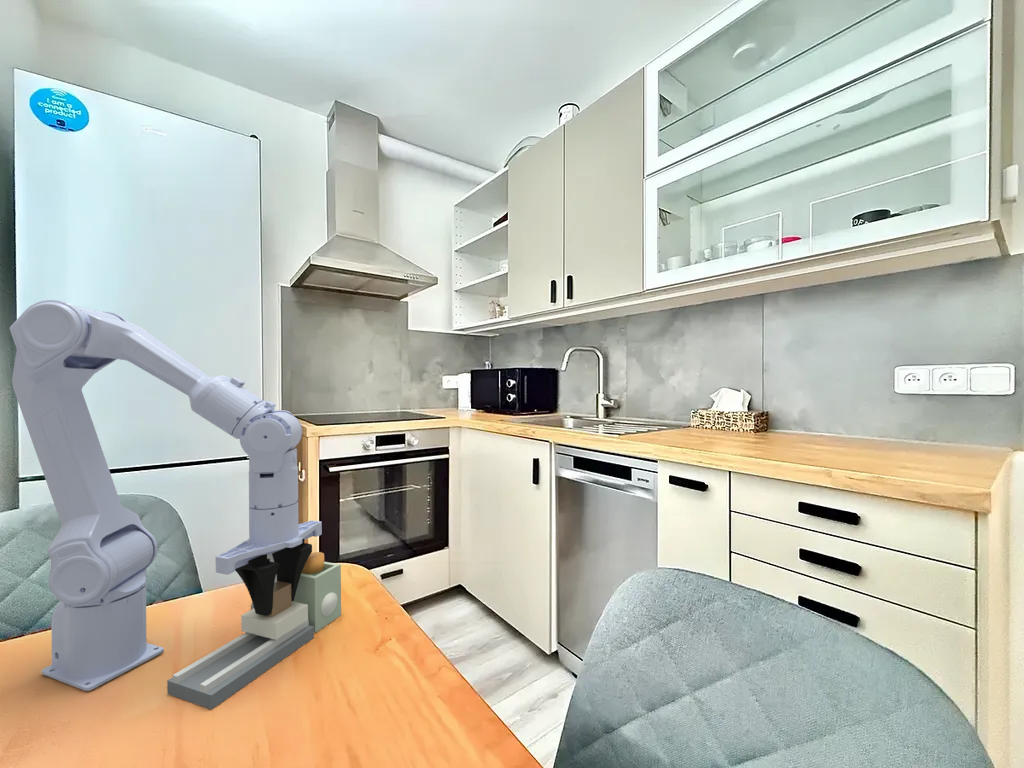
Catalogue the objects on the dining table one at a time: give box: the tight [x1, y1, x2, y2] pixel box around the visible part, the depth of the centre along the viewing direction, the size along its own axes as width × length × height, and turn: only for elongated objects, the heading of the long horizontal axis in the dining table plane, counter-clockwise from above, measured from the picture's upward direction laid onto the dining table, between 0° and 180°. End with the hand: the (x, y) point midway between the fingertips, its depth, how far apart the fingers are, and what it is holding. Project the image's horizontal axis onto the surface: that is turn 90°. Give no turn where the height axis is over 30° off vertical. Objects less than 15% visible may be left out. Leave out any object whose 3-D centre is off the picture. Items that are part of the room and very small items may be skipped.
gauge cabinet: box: [293, 561, 342, 634], centre depth 64 cm, size 6×5×8 cm
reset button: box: [302, 551, 325, 574], centre depth 64 cm, size 3×3×2 cm
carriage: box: [240, 581, 308, 640], centre depth 58 cm, size 6×5×5 cm
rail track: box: [166, 620, 315, 710], centre depth 54 cm, size 7×14×2 cm, turn 160°
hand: (275, 606), depth 58 cm, fingers closed on carriage, 3 cm apart
